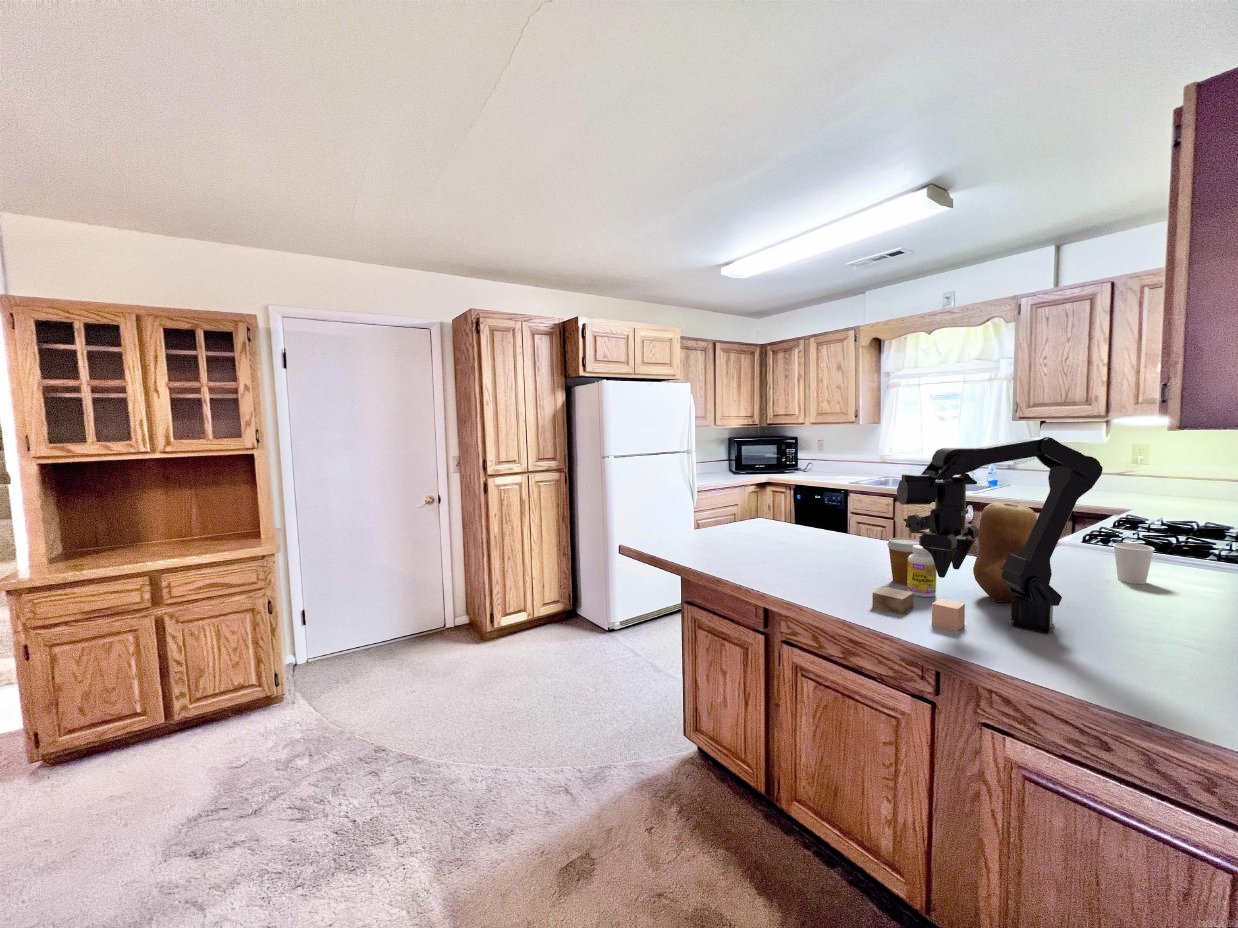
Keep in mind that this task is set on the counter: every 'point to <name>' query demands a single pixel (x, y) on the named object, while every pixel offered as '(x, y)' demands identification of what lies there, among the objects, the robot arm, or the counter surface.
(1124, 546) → the dixie cup
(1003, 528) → the butternut squash
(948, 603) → the cube
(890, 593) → the brown box
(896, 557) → the disposable coffee cup
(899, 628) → the counter surface
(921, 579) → the supplement bottle
